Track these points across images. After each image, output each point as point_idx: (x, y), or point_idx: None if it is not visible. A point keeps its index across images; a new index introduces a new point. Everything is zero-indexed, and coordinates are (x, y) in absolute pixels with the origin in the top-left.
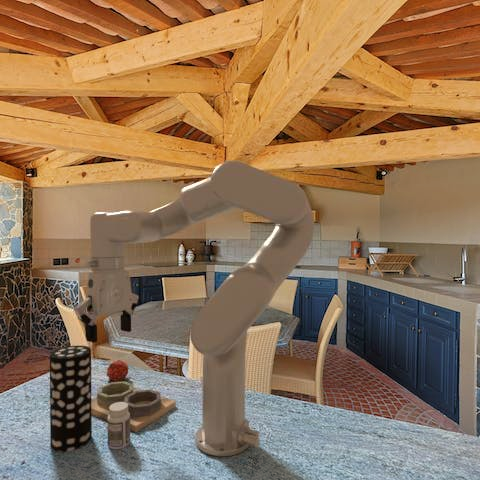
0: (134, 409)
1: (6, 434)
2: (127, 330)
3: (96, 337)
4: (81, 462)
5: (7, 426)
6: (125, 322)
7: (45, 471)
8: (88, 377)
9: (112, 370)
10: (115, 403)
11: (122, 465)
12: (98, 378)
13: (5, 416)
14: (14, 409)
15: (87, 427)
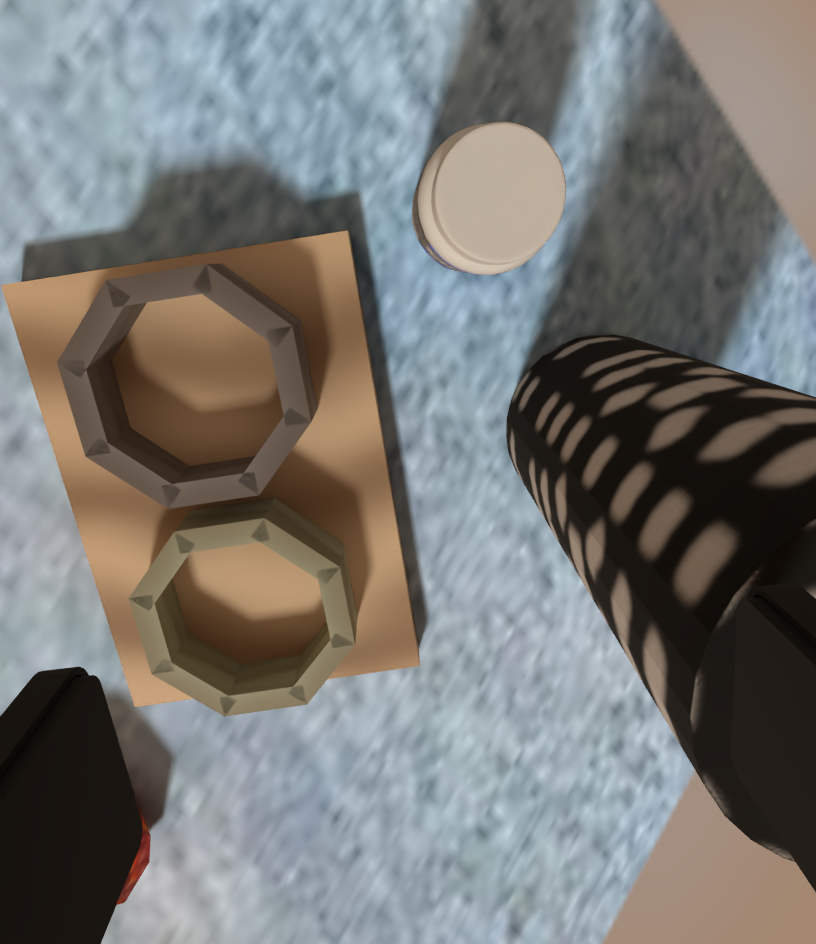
0: (293, 325)
1: None
2: (95, 705)
3: (804, 615)
4: (669, 216)
5: None
6: (43, 863)
7: (794, 285)
8: (694, 424)
9: None
10: (493, 248)
11: (569, 17)
12: (181, 881)
13: (662, 823)
14: (609, 854)
15: (585, 354)
